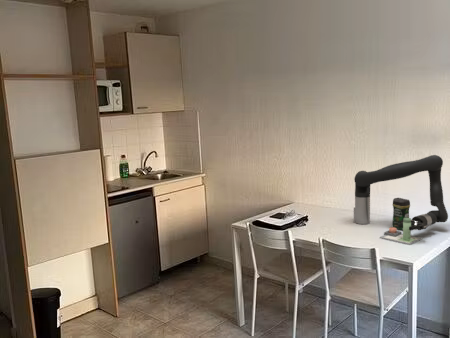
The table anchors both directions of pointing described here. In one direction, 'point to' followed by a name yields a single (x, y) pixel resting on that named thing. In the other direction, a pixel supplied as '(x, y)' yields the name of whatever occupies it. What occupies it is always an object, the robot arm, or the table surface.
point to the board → (399, 238)
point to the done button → (392, 230)
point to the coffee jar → (400, 211)
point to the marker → (406, 229)
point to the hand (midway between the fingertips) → (404, 227)
